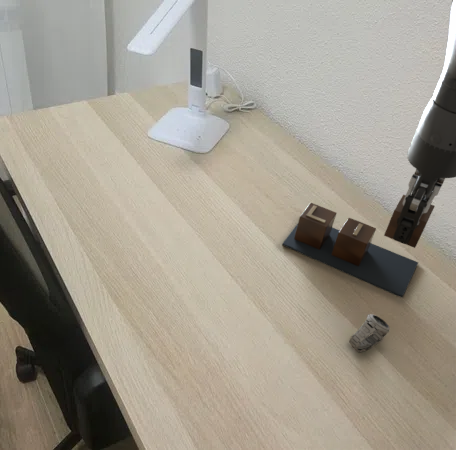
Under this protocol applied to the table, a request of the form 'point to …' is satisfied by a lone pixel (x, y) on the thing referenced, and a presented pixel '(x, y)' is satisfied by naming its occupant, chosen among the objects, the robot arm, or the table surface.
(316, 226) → the tile
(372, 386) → the table surface
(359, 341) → the silver wristwatch
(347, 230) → the tile
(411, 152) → the robot arm
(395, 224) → the tile
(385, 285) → the mat
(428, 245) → the table surface
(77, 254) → the table surface
